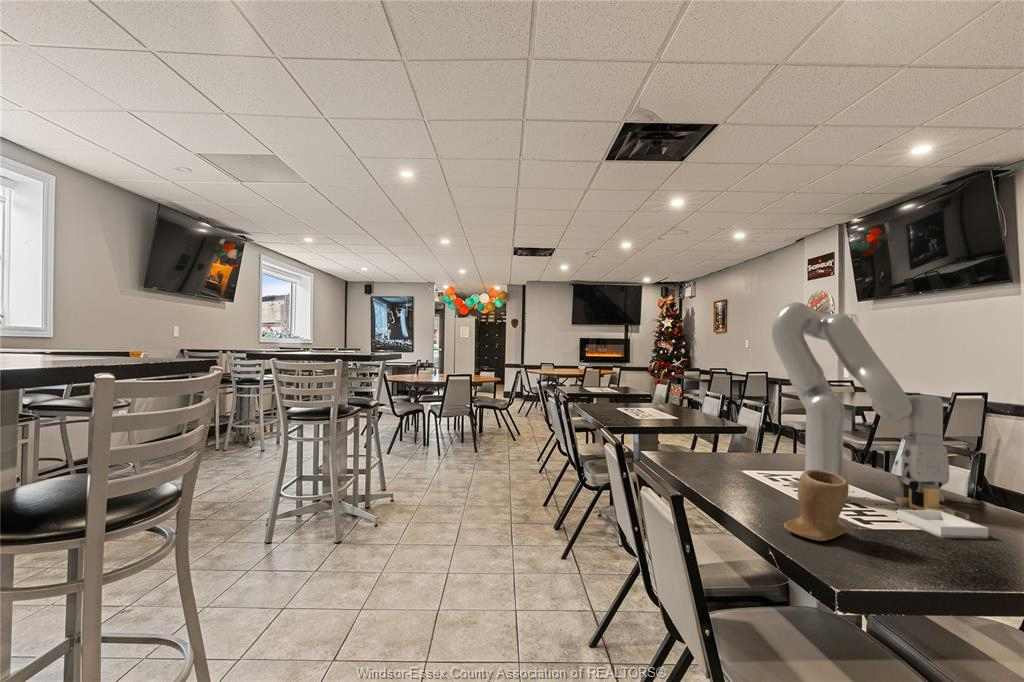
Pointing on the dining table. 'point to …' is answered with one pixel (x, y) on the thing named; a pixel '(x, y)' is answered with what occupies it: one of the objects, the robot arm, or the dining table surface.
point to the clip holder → (905, 502)
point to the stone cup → (820, 505)
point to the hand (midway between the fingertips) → (923, 505)
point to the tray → (942, 524)
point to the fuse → (927, 496)
